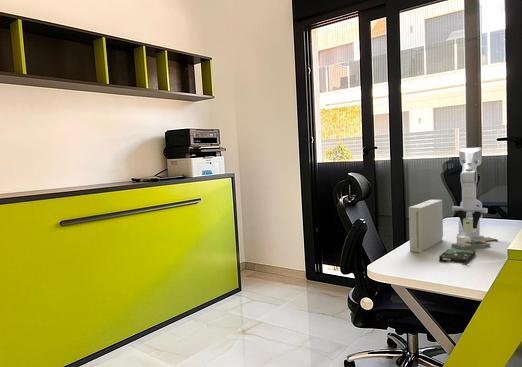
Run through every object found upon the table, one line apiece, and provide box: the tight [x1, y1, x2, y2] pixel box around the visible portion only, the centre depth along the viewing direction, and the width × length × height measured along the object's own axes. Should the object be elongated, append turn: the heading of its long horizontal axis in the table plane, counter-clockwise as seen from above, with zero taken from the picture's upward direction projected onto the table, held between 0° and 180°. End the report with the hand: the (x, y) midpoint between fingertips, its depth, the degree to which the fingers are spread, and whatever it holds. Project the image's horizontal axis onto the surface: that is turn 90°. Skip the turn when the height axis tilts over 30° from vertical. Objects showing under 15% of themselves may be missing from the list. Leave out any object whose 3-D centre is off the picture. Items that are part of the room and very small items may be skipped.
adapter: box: [456, 235, 473, 246], centre depth 174 cm, size 7×4×5 cm, turn 12°
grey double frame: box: [451, 240, 491, 251], centre depth 177 cm, size 7×14×2 cm, turn 102°
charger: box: [463, 218, 476, 233], centre depth 180 cm, size 4×4×6 cm
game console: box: [408, 199, 444, 254], centre depth 185 cm, size 6×27×20 cm, turn 137°
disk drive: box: [438, 248, 476, 266], centre depth 162 cm, size 10×3×15 cm
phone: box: [471, 236, 499, 243], centre depth 187 cm, size 6×11×1 cm, turn 102°
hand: (469, 227), depth 180 cm, fingers open, 4 cm apart
